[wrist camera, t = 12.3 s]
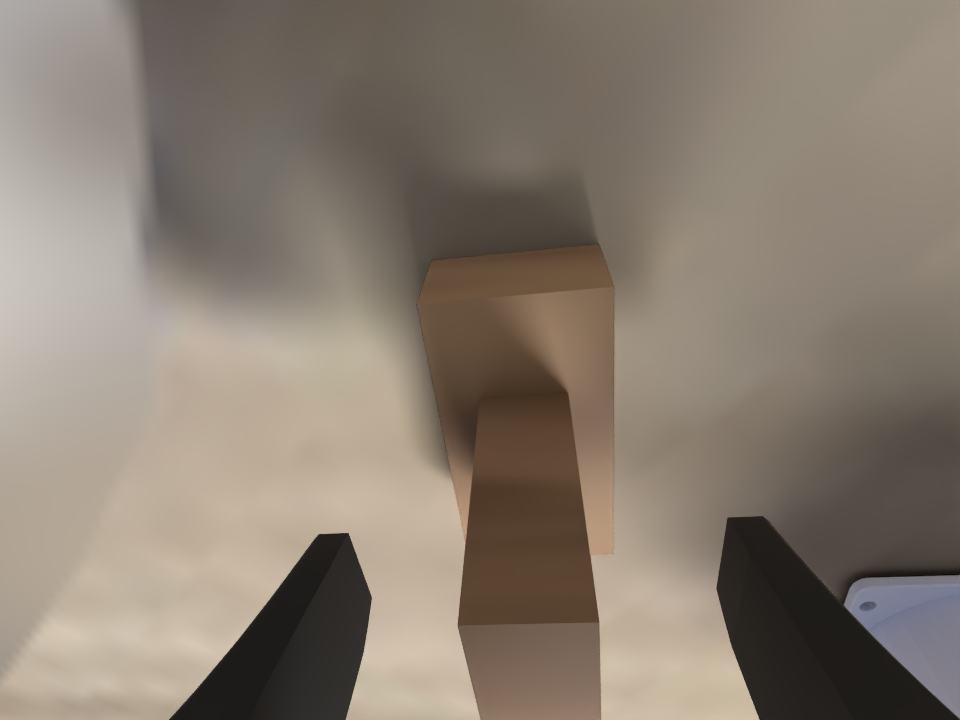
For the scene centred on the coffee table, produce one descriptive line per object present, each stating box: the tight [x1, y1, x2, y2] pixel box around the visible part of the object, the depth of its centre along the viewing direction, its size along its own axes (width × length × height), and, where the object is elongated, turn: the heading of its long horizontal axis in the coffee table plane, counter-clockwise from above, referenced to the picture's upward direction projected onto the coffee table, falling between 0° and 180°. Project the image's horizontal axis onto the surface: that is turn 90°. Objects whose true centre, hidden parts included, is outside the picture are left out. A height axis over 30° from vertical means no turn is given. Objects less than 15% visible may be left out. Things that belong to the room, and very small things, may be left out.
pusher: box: [417, 244, 614, 720], centre depth 12 cm, size 8×4×8 cm, turn 7°
